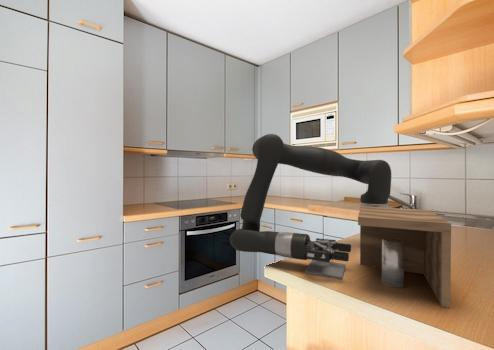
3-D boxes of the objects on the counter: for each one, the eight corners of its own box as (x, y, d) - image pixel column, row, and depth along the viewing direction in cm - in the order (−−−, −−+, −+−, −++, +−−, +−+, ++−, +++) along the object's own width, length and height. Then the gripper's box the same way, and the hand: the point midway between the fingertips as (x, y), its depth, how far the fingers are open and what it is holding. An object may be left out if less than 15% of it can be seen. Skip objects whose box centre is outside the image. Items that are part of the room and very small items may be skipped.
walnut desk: (360, 263, 81) (360, 206, 81) (429, 272, 73) (429, 210, 73) (357, 291, 62) (358, 216, 62) (450, 308, 54) (451, 223, 54)
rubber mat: (312, 261, 83) (312, 259, 83) (345, 265, 78) (345, 263, 78) (304, 273, 73) (304, 271, 73) (342, 279, 68) (342, 277, 68)
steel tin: (381, 277, 70) (381, 237, 70) (402, 281, 68) (402, 239, 68) (382, 284, 65) (382, 242, 65) (404, 288, 63) (405, 244, 63)
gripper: (285, 238, 71) (348, 245, 64) (298, 228, 84) (351, 233, 77) (285, 265, 72) (347, 275, 64) (298, 251, 84) (351, 258, 77)
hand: (349, 252), depth 71 cm, fingers open, 8 cm apart
